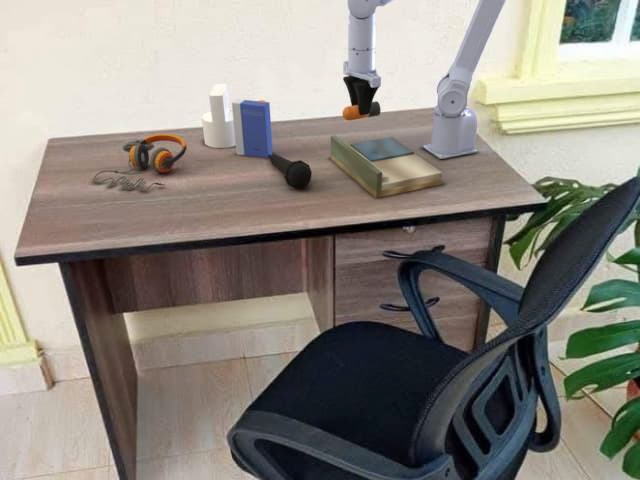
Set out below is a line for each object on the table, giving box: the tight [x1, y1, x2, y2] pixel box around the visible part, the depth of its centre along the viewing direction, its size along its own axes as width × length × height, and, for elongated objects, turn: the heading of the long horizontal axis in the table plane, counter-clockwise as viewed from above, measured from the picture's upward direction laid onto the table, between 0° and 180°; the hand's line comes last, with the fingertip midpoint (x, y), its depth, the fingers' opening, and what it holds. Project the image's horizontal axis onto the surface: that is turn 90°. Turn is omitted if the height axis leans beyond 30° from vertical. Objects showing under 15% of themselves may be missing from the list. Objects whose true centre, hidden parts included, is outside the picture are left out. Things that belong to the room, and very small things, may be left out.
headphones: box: [93, 133, 188, 192], centre depth 140 cm, size 17×5×20 cm
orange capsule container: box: [341, 100, 382, 121], centre depth 146 cm, size 9×3×3 cm, turn 113°
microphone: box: [268, 153, 313, 190], centre depth 139 cm, size 6×6×20 cm
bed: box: [330, 135, 444, 199], centre depth 139 cm, size 15×22×5 cm
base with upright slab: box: [201, 83, 236, 149], centre depth 153 cm, size 9×9×12 cm
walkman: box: [231, 98, 274, 159], centre depth 146 cm, size 8×3×12 cm, turn 71°
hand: (360, 111), depth 146 cm, fingers closed on orange capsule container, 3 cm apart
